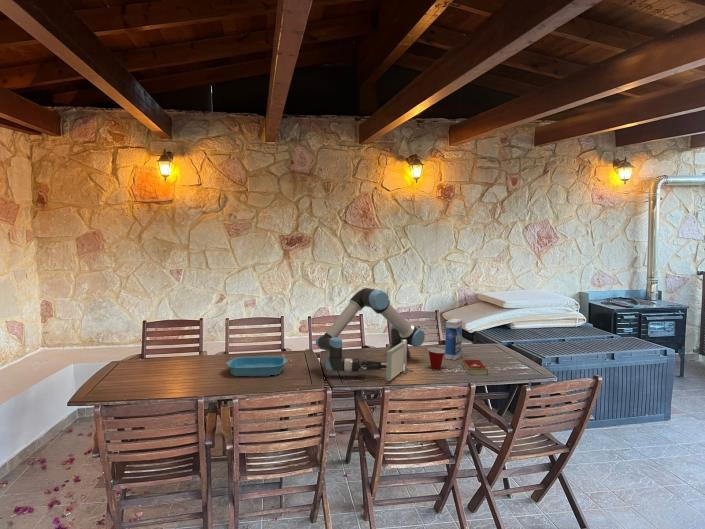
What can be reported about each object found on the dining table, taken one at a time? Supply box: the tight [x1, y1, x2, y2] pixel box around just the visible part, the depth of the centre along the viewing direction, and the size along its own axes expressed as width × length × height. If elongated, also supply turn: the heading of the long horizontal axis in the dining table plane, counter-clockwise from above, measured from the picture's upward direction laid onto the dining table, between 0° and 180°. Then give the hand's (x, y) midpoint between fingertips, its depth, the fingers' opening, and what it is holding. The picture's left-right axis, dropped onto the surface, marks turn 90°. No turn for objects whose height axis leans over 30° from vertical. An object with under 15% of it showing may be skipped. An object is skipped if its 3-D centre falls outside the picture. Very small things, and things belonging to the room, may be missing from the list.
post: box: [400, 339, 414, 375], centre depth 289 cm, size 8×8×20 cm
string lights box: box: [444, 318, 463, 361], centre depth 321 cm, size 13×8×26 cm, turn 148°
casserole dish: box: [225, 355, 288, 377], centre depth 286 cm, size 37×22×7 cm, turn 94°
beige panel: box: [386, 343, 404, 382], centre depth 277 cm, size 23×2×17 cm, turn 154°
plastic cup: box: [427, 347, 445, 370], centre depth 296 cm, size 11×11×12 cm
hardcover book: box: [460, 358, 489, 375], centre depth 295 cm, size 12×21×4 cm, turn 178°
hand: (392, 366), depth 275 cm, fingers closed
